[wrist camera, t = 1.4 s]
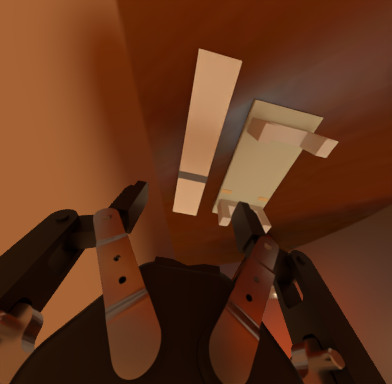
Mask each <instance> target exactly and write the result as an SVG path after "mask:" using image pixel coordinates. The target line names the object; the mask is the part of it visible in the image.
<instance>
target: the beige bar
mask: <svg viewBox="0 0 392 384" xmlns="http://www.w3.org/2000/svg"><path fill="white" fill-rule="evenodd" d="M241 64H242V61H240V60H237V59H234V58H230V57H227V56H223V55H220V54H217V53H213V52H210V51H206V50H203V49H200V48H199V53H198V59H197V65H196V72H195V78H194V84H193V90H192V96H191V102H190V109H189V115H188V121H187V127H186V133H185V139H184V145H183V152H182V158H181V164H180V169H179V174H178V182H177V189H176V195H175V201H174V207H173V211H174V212H179V213H185V214H190V215H195V216H196V213H197V210H198V207H199V203H200V200H201V197H202V193H203V190H204V187H205V183H206V182H207V178H208V173H209V170H210V167H211V163H212V160H213V157H214V153H215V150H216V147H217V144H218V140H219V137H220V134H221V130H222V127H223V124H224V120H225V117H226V114H227V110H228V107H229V104H230V100H231V97H232V94H233V90H234V87H235V84H236V80H237V77H238V74H239V70H240V67H241Z"/></svg>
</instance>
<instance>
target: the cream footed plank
mask: <svg viewBox="0 0 392 384" xmlns="http://www.w3.org/2000/svg"><path fill="white" fill-rule="evenodd" d="M322 119H323V118H322V117H318V116H314V115H311V114H307V113H303V112H300V111H296V110H292V109H289V108H285V107H281V106H278V105H274V104H270V103H267V102H263V101H259V100H255V99H254V101H253V104H252V106H251V109H250V111H249V114H248V117H247V119H246V122H245V124H244V127H243V130H242V132H241V135H240V138H239V140H238V143H237V145H236V148H235V151H234V153H233V156H232V158H231V161H230V164H229V166H228V169H227V172H226V174H225V177H224V179H223V182H222V185H221V187H220V190H219V193H218V195H217V198H216V200H215V203H214V206H213V208H212V212H214V213H218V219H219V225H223V226H228V224H229V222H230V220H231V216H232V213H233V211H234V209H235V207H236V205H237V203H238V202H239V201H241V202H246V203H248V204H249V206H250V208H251V209H253V210H254V212H255V213H256V214H257V216H258V218H259V220H260V222H261V224H262V227H263V229H264V231H265V233H267V231H268V230H269V229H270V228H271V225H270V223H269V221H268V219H267V217H266V215H265V213H264V211H263V208H264V206H265V205H266V203H267V202H268V200H269V199H270V197H271V196H272V194H273V193H274V191H275V190H276V188H277V187H278V185H279V184H280V182H281V181H282V179H283V178H284V176H285V175H286V173H287V172H288V170H289V169H290V167H291V166H292V164H293V163H294V161H295V160H296V158H297V157H298V155H299V154H300V152H301V151H302V149H304V150H306V151H308V152H310V153H312V154H314V155H316V156H320V157H324V158H326V157H327V156H328V155H329V153H330V152H331V151H332V150H333V148H334V147H335V146H336V145H337V143H338V141H335V140H332V139H329V138H326V137H323V136H320V135H317V134H315V133H314V131H315V130H316V128H317V127H318V125H319V124H320V122H321V121H322Z"/></svg>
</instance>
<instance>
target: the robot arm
mask: <svg viewBox="0 0 392 384" xmlns="http://www.w3.org/2000/svg"><path fill="white" fill-rule="evenodd" d="M147 200H148V182H144V181H137V183H136V184H135V185H130V186H128V187H126V188H125V189H124V190H123V191H122V193H121V194H120V195H119V196H118V197H117V198H116V199H115V201H114V202H113V203H112V204H111V205H110V206H109V207H108V208H105V209H101V210H99V211H97V212H96V213H95V214H94V215H82V216H78V214H77V212H76V211H74V210H70V209H65V210H60V211H57V212H54V213H52V214H51V215H49V216H48V217H47V218H46V219H44V220H43V221H42V222H41V223H40V224H38V225H37V226H36V227H35V228H34V229H33V230H31V231H30V232H29V233H28V234H26V235H25V236H24V237H23V238H22V239H21V240H19V241H18V242H17V243H16V244H14V245H13V246H12V247H11V248H10V249H9V250H7V251H6V252H5V253H4V254H3V255H1V256H0V384H386V383H385V381H384V380H383V378H382V376H381V374H380V373H379V371H378V370H377V368H376V366H375V365H374V363H373V361H372V360H371V358H370V357H369V355H368V353H367V351H366V350H365V348H364V347H363V345H362V343H361V342H360V340H359V338H358V337H357V335H356V333H355V332H354V330H353V328H352V327H351V326H350V324H349V322H348V320H347V319H346V317H345V315H344V314H343V312H342V310H341V309H340V307H339V305H338V304H337V302H336V301H335V299H334V297H333V296H332V294H331V292H330V291H329V289H328V287H327V286H326V284H325V283H324V281H323V279H322V278H321V276H320V274H319V273H318V271H317V269H316V268H315V266H314V265H313V263H312V261H311V260H310V259H309V258H308V257H307V256H306V255H305V254H304V253H302V252H300V251H297V250H293V251H291V252H290V253H288V252H285V251H283V250H281V249H279V248H278V246H277V244H276V243H275V242H274V241H273V240H272V239H270V238H269V237H267V235H266V233H265V231H264V229H263V227H262V224H261V222H260V220H259V218H258V216H257V214H256V213H255V212H254V210H253V209H251V208H250V206H249V204H248V203H246V202H241V201H239V202H238V203H237V205H236V207H235V209H234V211H233V213H232V218H231V219H232V224H233V229H234V233H235V237H236V242H237V246H238V250H239V253H243V254H245V257H244V259H243V260H242V262H241V264H240V266H239V267H238V269H237V271H236V273H235V274H234V276H233V278H232V279H230V278H228V277H227V276H226V275H225V274H223V273H221V272H220V269H219V266H213V265H207V264H200V265H192V266H187V265H185V264H182V263H180V262H178V261H176V260H173V259H169V258H163V257H156V258H155V261H153V262H148V263H145V264H142V265H140V266H138V264H137V261H136V258H135V255H134V252H133V250H132V246H131V243H130V240H129V237H128V235H127V234H126V233H128V234H130V233H131V231H132V230H133V227H134V226H135V224H136V222H137V220H138V218H139V216H140V215H141V213H142V211H143V209H144V207H145V205H146V203H147ZM93 247H96V250H97V256H98V264H99V271H100V277H101V284H102V291H103V294H102V295H101V296H100V297H98V298H97V299H96V300H95V301H93V302H92V303H91V304H90V305H88V306H87V307H86V308H85V309H84V310H82V311H81V312H80V313H78V314H77V315H76V316H75V317H74V318H72V319H71V320H70V321H68V322H67V323H66V324H65V325H63V326H62V327H61V328H60V329H58V330H57V331H56V332H55V333H53V334H52V335H51V336H50V337H49V338H47V339H46V340H45V341H44V342H42V343H41V344H40V345H39V346H38V347H37V348H36V349H34V345H35V340H36V338H37V336H38V334H39V332H40V330H41V328H42V325H43V316H42V314H41V313H40V312H41V311H42V310H43V308H44V307H45V305H46V304H47V302H48V301H49V300H50V298H51V297H52V295H53V294H54V292H55V291H56V290H57V288H58V287H59V285H60V284H61V282H62V281H63V280H64V278H65V277H66V275H67V274H68V273H69V271H70V270H71V268H72V267H73V265H74V264H75V262H76V261H77V260H78V258H79V257H80V255H81V254H82V252H83V251H84V250H85V248H93ZM296 281H297V283H298V285H299V287H300V290H301V292H302V294H303V301H302V300H301V298H300V295H299V293H298V291H297V288H296V286H295V284H294V283H295V282H296ZM272 284H273V285H274V289H275V292H276V295H277V298H278V301H279V304H280V307H281V310H282V313H283V316H284V319H285V322H286V326H287V328H288V331H289V335H290V338H291V341H292V344H293V345H292V348H291V355H292V357H291V358H290V359H289V358H288V357H287V355H286V354H285V352H284V351H283V350H282V348H281V347H280V346H279V344H278V343H277V341H276V340H275V339H274V337H273V336H272V335H271V333H270V332H269V331H268V329H267V328H266V326H265V325H264V323H263V322H262V318H263V314H264V311H265V308H266V304H267V301H268V297H269V294H270V291H271V287H272Z"/></svg>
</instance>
